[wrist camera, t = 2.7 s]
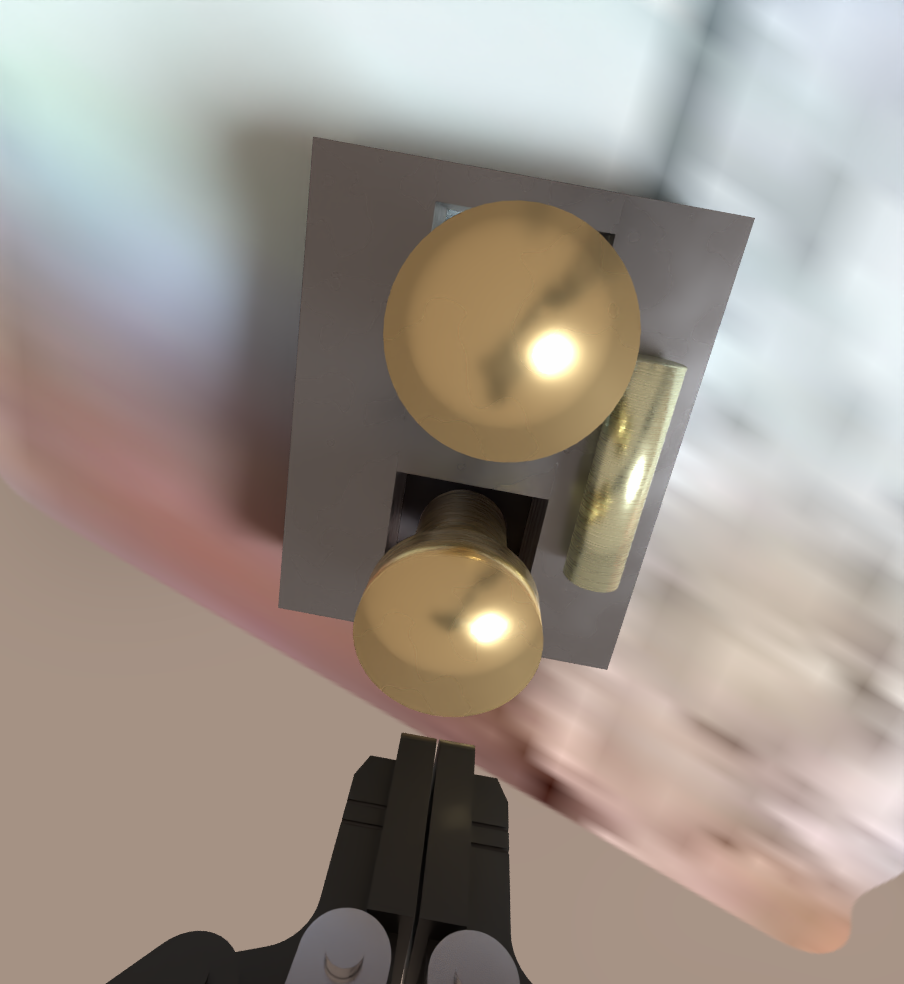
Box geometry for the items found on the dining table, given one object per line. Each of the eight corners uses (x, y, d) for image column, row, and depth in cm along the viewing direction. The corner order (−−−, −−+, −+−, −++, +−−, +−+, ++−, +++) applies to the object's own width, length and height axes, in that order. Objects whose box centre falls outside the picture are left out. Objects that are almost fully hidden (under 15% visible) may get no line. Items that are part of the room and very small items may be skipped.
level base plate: (347, 157, 20) (292, 124, 15) (708, 223, 20) (783, 214, 15) (310, 556, 26) (260, 636, 20) (592, 608, 26) (615, 704, 20)
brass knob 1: (437, 202, 17) (401, 177, 11) (611, 234, 17) (674, 227, 11) (412, 376, 19) (369, 438, 13) (569, 405, 19) (602, 482, 13)
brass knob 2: (404, 453, 22) (364, 539, 15) (545, 480, 22) (563, 576, 15) (386, 577, 23) (343, 698, 17) (515, 601, 23) (520, 731, 17)
